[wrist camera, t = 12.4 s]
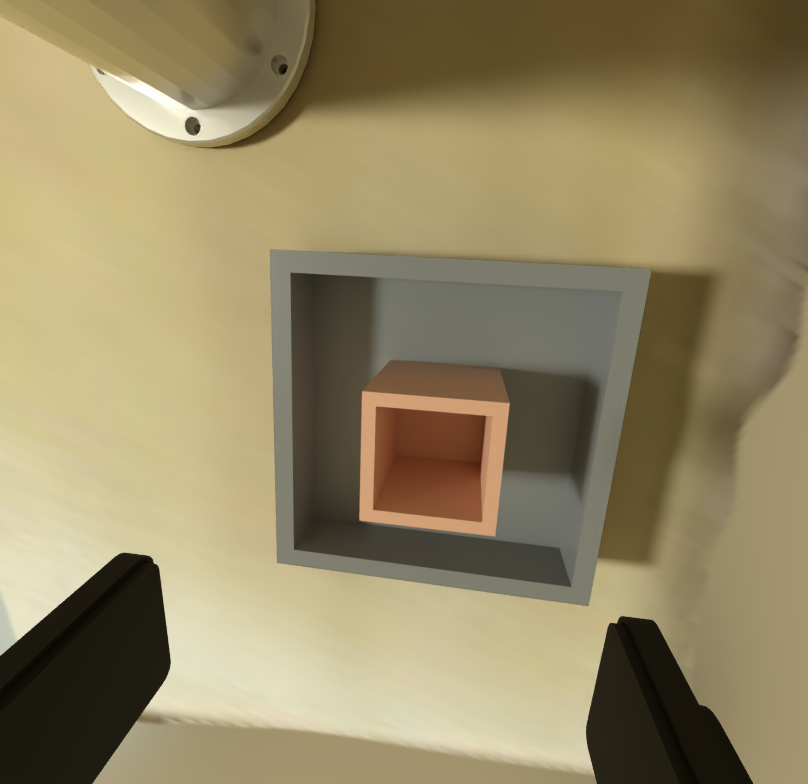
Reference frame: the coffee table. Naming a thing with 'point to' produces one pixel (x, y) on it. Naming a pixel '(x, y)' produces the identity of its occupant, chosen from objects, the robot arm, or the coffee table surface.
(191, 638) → the coffee table surface
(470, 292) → the grey square tray
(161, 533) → the coffee table surface
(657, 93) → the coffee table surface
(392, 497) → the small crate
